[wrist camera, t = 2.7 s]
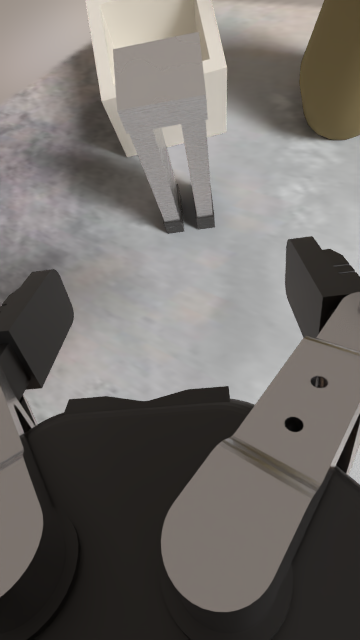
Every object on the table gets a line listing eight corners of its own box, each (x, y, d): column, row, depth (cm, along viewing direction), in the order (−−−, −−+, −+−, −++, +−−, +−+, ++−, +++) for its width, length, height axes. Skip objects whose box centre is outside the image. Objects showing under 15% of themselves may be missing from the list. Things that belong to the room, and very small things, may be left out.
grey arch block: (167, 233, 29) (117, 110, 15) (164, 198, 29) (112, 49, 16) (214, 227, 28) (206, 94, 15) (210, 191, 29) (198, 31, 15)
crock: (127, 157, 30) (101, 101, 24) (112, 71, 32) (85, -3, 25) (226, 132, 30) (227, 67, 23) (206, 45, 31) (202, -38, 25)
